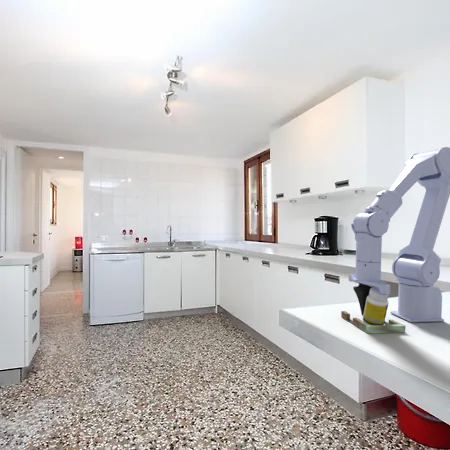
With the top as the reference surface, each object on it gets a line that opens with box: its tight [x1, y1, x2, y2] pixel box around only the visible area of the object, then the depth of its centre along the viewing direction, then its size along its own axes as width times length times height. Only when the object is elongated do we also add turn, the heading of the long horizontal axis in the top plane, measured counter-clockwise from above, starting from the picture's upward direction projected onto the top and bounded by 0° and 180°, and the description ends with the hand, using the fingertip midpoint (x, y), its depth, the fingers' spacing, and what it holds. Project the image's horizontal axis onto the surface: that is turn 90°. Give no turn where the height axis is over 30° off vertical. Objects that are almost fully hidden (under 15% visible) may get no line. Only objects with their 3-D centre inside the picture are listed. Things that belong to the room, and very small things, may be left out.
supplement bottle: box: [362, 287, 390, 325], centre depth 75 cm, size 5×5×8 cm
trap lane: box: [340, 310, 406, 335], centre depth 77 cm, size 9×12×2 cm
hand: (366, 315), depth 78 cm, fingers closed, pressing on supplement bottle
